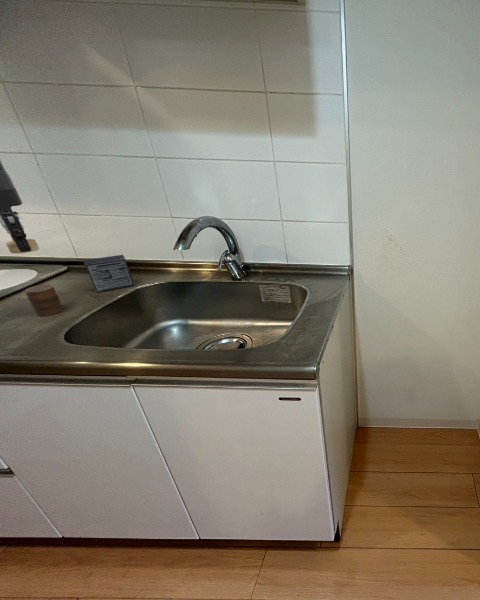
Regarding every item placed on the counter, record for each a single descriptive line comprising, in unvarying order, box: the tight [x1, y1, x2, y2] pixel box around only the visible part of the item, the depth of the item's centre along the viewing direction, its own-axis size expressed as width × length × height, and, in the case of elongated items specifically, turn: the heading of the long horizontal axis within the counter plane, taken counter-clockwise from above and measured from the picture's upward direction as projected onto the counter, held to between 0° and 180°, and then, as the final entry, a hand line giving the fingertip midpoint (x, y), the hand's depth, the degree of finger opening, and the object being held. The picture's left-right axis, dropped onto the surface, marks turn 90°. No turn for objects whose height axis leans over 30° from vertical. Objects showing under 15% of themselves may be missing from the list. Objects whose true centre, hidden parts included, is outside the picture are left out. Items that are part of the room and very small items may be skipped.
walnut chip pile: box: [24, 284, 64, 317], centre depth 91 cm, size 6×6×8 cm
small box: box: [83, 254, 136, 293], centre depth 108 cm, size 11×6×10 cm, turn 135°
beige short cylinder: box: [5, 238, 40, 254], centre depth 88 cm, size 6×6×3 cm
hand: (24, 248), depth 88 cm, fingers closed on beige short cylinder, 5 cm apart
